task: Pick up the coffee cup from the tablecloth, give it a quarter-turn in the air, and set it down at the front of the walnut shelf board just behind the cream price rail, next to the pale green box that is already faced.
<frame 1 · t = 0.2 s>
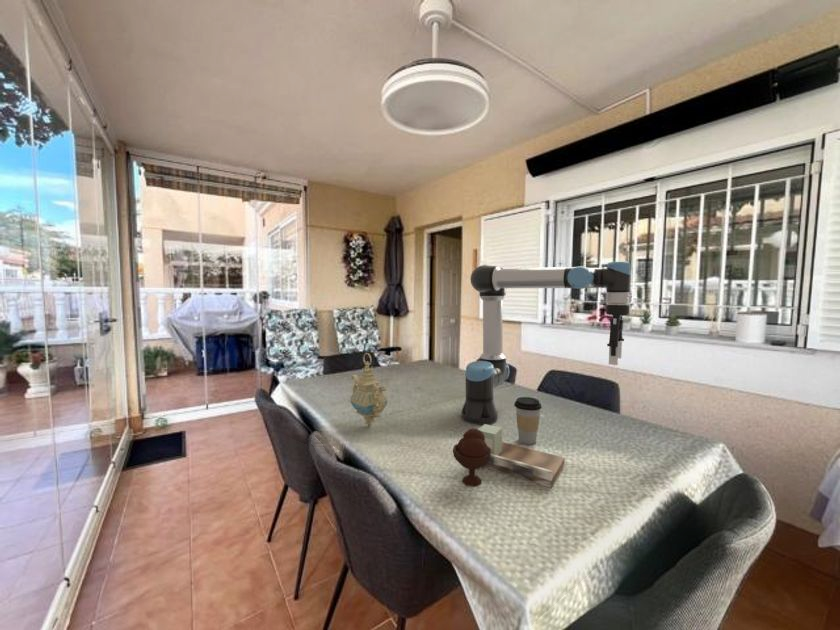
hand: (615, 361, 132), 28 cm above the table, fingers open, 13 cm apart
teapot: (368, 427, 143), on the table
ice cream bowl: (471, 481, 102), on the table
coffee cup: (527, 441, 129), on the table
shelf board: (518, 463, 112), on the table
pale green box: (489, 452, 115), point 2 cm above the table, touching shelf board
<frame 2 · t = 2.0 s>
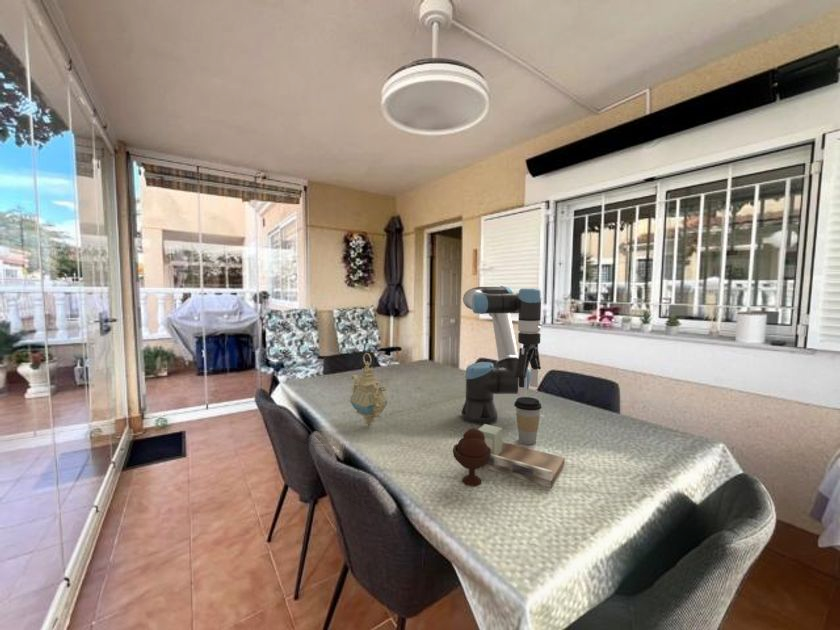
hand: (528, 391, 127), 18 cm above the table, fingers open, 13 cm apart
nothing on the table moved.
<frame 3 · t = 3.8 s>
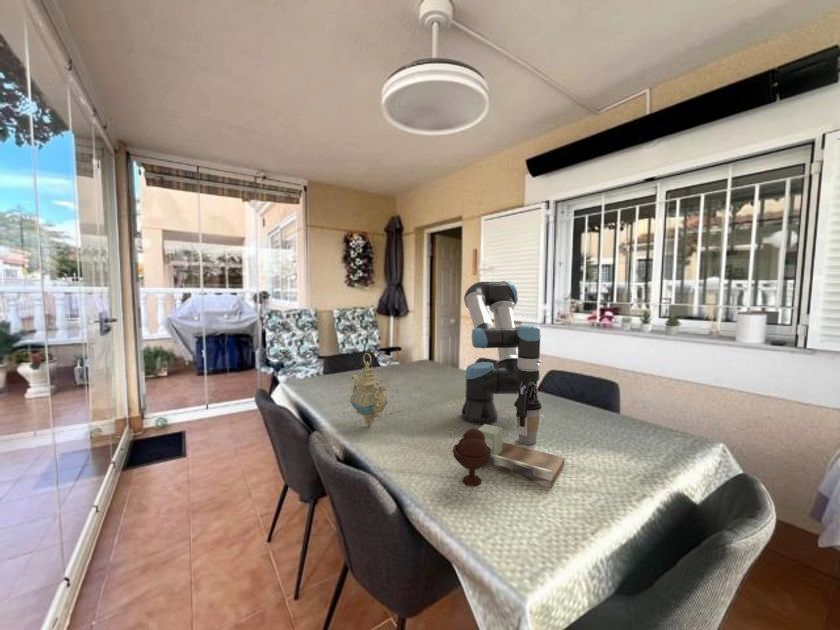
hand: (527, 429, 128), 4 cm above the table, fingers closed on coffee cup, 9 cm apart
coffee cup: (527, 441, 129), on the table, touching gripper
everything else where it was.
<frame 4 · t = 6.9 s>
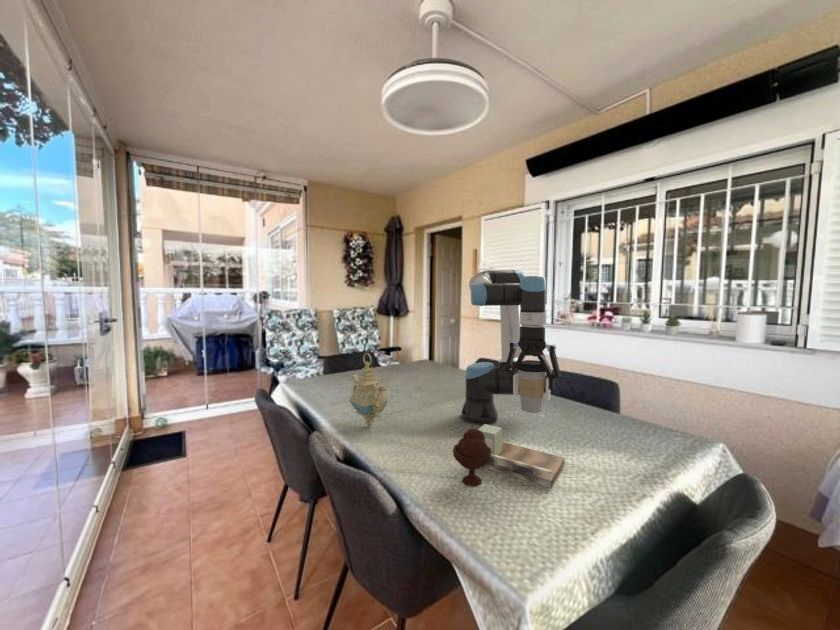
hand: (531, 397, 111), 21 cm above the table, fingers closed on coffee cup, 9 cm apart
coffee cup: (531, 410, 112), point 17 cm above the table, touching gripper
everything else where it was.
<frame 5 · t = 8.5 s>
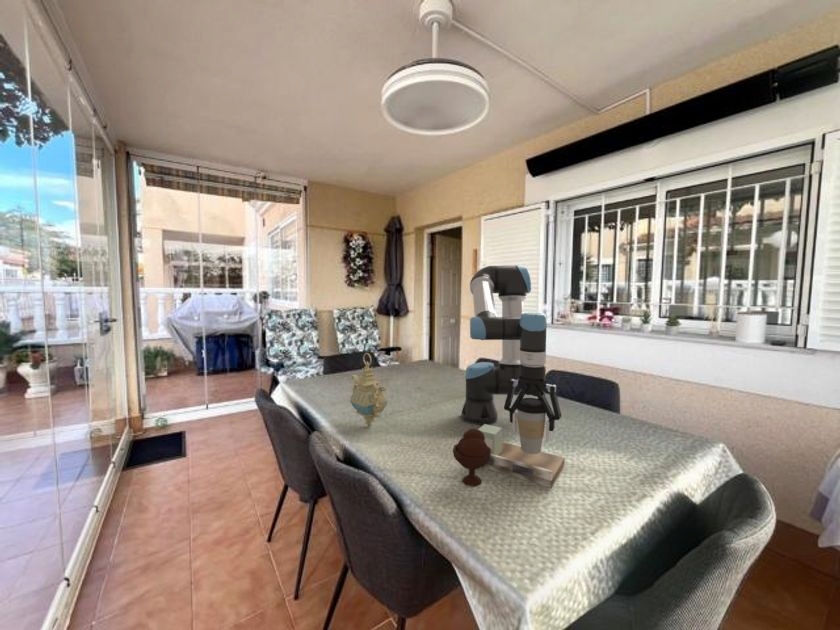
hand: (531, 436, 108), 10 cm above the table, fingers closed on coffee cup, 9 cm apart
coffee cup: (531, 450, 109), point 6 cm above the table, touching gripper
everything else where it was.
when the fingers open (6 cm above the table, at t = 9.9 s): coffee cup stays where it is, resting on shelf board.
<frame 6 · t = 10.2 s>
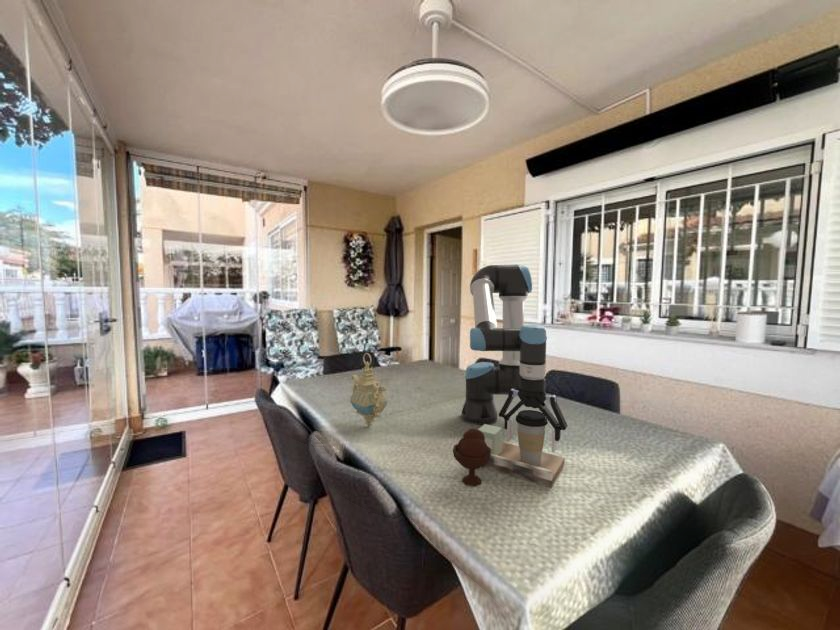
hand: (531, 445, 109), 7 cm above the table, fingers open, 13 cm apart
coffee cup: (530, 462, 109), point 2 cm above the table, touching shelf board
everything else where it was.
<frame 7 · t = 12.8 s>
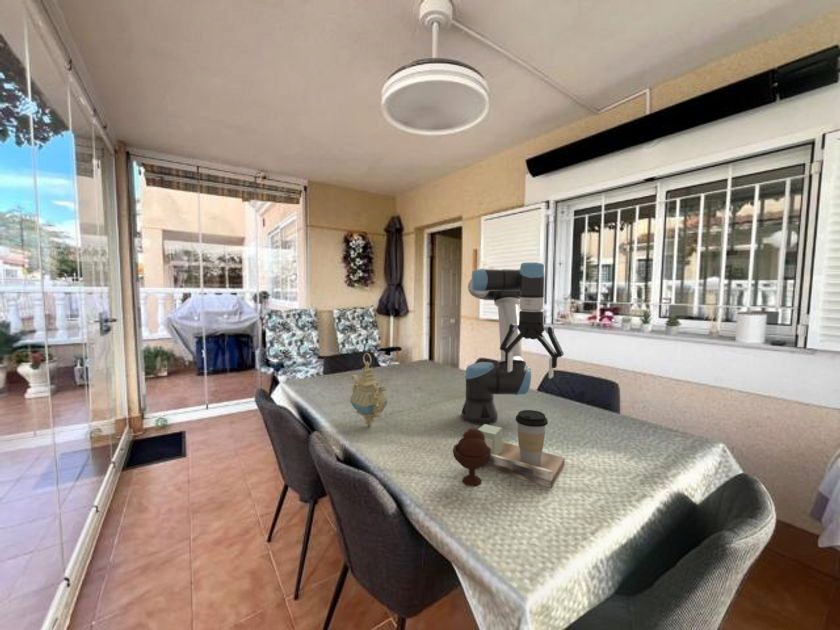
hand: (529, 374, 117), 27 cm above the table, fingers open, 13 cm apart
nothing on the table moved.
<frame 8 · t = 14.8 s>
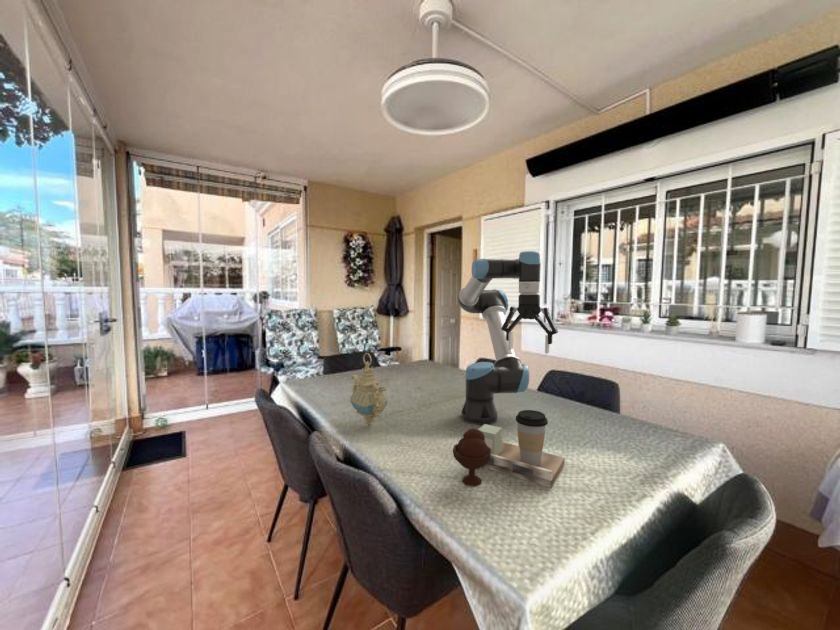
hand: (528, 351, 132), 32 cm above the table, fingers open, 13 cm apart
nothing on the table moved.
at the end: coffee cup inside the target area (0.5 cm from its centre), point 1.8 cm above the table; coffee cup tilted 0°; the gripper is holding nothing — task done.
